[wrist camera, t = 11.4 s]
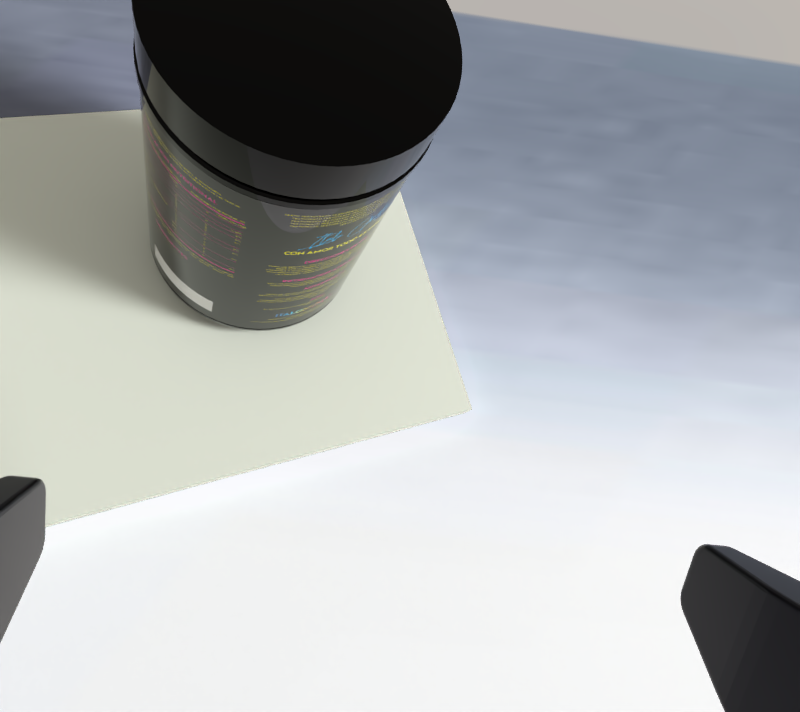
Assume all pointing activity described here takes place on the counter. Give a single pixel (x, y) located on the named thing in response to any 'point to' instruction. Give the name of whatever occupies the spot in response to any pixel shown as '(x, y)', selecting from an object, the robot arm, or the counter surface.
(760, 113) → the counter surface
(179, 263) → the supplement container
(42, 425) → the mat
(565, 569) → the counter surface
